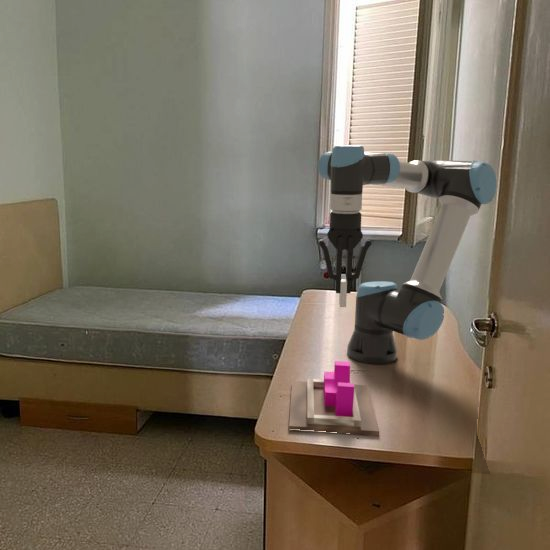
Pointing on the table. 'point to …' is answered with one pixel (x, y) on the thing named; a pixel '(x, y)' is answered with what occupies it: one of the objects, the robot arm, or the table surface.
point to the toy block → (339, 389)
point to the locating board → (330, 410)
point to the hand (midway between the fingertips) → (342, 305)
